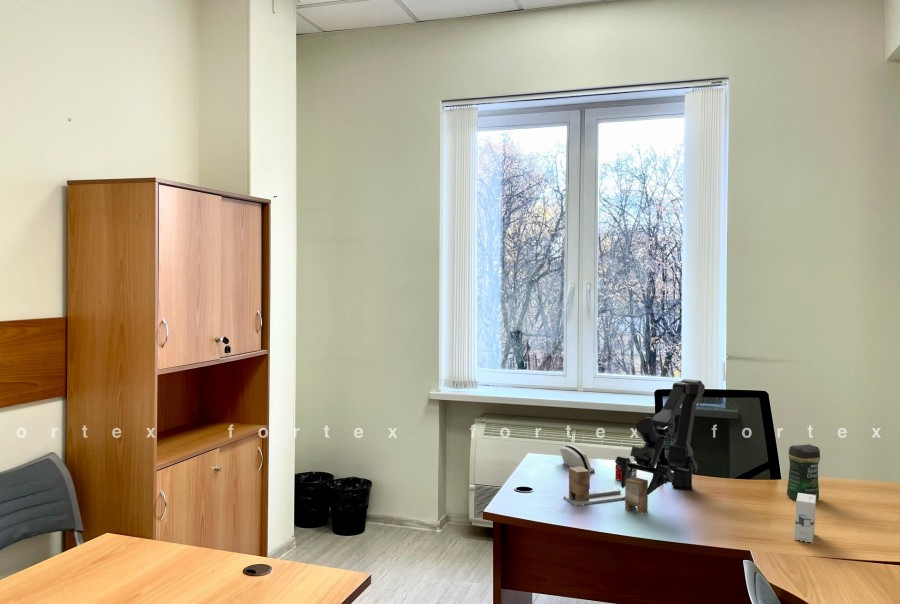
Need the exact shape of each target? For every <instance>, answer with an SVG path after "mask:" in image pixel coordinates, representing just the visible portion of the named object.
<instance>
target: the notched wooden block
mask: <svg viewBox="0 0 900 604" xmlns="http://www.w3.org/2000/svg"><path fill="white" fill-rule="evenodd" d="M648 487H649V480H648V479H644V478H639V477H637V478H636V477H630V478H628V479H626V482H625V487H624V488H625V489H624V490H625V491H624V492H625V495H624V496H625V499H624V502H625V503H624V510H625V511H632V510H633V509H635V508H636V509H637V510H636V513H637V515H642V514H644V513H646V512H648V510H649V509H648V508H649V507H648V501H649V499H648V497H649V495H647V494H646V492H647V489H648Z"/></svg>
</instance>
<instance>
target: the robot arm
mask: <svg viewBox="0 0 900 604" xmlns="http://www.w3.org/2000/svg"><path fill="white" fill-rule="evenodd" d="M671 388H672V389H671V391H670V393H669V395H668V397H667V399H666V402H665V403H664V405H663V407H662V408H661V411H659V412H658V413H656V414H654V416H653V417H649V416H646V417H645V418H644V419H642V420H639V422H637V423H636V425H635V429H636V431H637V433H638V435H639V437H640V438H641V440H642V441H643V443H644V445H643V447H642V446H641V447H637V446H634V445H633V446H632V447H631V450H630V453H629V454H630V455H629V456H630V457H634V458H633V460H634V462H632V461H631V459H630V458H629V457H627V456H623V455H618V456H616V458H615V461H614V463H615V465H616V464H617V466H618V467H619V469H620V470H621V472H622V478H621V481H620V482H621V483H620V487H621V488H622V489H624V488H625V482H626V479H628V478H630V476H631V475H632V474H631V473H630V472H632V470H633V469H636V470H637V471H641V472H646V473H649V474H652V478H651V479H650V482H649V483H648V489H647V492H646V494H647V495H648V496H649V495H650V494H652V493H653V492H654V491H655V490H657V489H658V488H659V487H661V486H663V485H664V484H665V485H667V484H668V483H671V486H672V488H673V489H676V490H685V491H693V474H697V471H698V463H697V462H696V460H695V458H694V451H693V448H692V446H691V441H692V440H691V439H692V434H693V433H692V432H693V427H694V422H695V421H694V420H695V415H696V407H697V404H699V402H700V401H701V400H702V399H703V395H704V392H705V389H706V388H705V384H704V383H703V382H702V380H697V379H689V378H683V379H682V380H681V381H675V382H673V384H672V387H671ZM679 410H680V413H679V420H678V426H677V433H676V439H675V442H674V443H672V444H670V445H669V448H668V454H667V459H666V460H667V465H662V464H657V463H659V462H660V461H661V458H660V455H661V453H662V450H663V448H664V449H666V448H667V443H666V440H665V439H664V437H665V438H671V437H672V436H673V435H674V432H675V430H676V429H675V428H676V422H675V419H676V417H677V414H678V412H679ZM635 462H636V463H635ZM672 470H673V471H672Z"/></svg>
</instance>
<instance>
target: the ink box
mask: <svg viewBox="0 0 900 604" xmlns="http://www.w3.org/2000/svg"><path fill="white" fill-rule="evenodd" d="M816 504H817V500H816V495H810V494H803V493H798V495H797V500H795V517H794V519H795V520H794V536H793V537H794V539H795V540H794V541H798V540H800V541H799V542H802V541H805V542H804V543H807V542H813V543H814V536H815V526H816V525H815V524H816Z"/></svg>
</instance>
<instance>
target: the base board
mask: <svg viewBox="0 0 900 604" xmlns="http://www.w3.org/2000/svg"><path fill="white" fill-rule="evenodd" d="M600 491H601V490H599V491H597V492H600ZM605 491H607V489H606V490H605ZM589 493H592V491H589ZM563 499H564V500H565V501H567V502H569V503H570V504H572V505H573V504H574V505H573V506H575V507H577V505H579V506H585V504H587V505H593V503H594V504H600V503H599V502H602V503H607V502H606V501H609V502H615V501H614V500H617V501H622V499H624V500H625V495H624V494H622V493H621V494H616V495H608V496H601V497H593V498H589V500H588V501H580V502H577V501H575V500H570V499H569V494H567V495H563ZM583 504H584V505H583Z"/></svg>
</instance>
